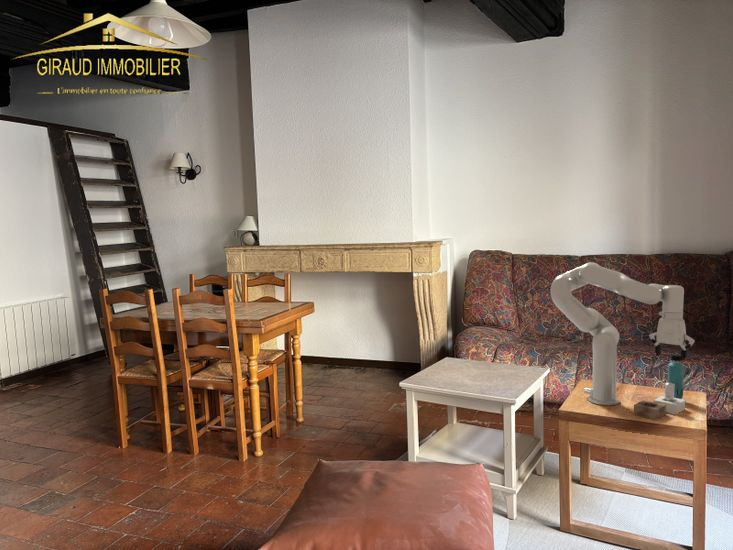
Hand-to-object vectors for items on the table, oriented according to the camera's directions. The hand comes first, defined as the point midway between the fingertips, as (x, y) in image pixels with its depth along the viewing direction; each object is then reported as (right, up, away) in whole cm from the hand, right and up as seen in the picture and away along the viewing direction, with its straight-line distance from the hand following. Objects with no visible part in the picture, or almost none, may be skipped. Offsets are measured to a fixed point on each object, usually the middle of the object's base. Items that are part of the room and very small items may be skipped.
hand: (670, 357), depth 250 cm
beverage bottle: (+9, -21, +14) cm, 26 cm away
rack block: (0, -22, +2) cm, 22 cm away
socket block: (-10, -22, -4) cm, 25 cm away
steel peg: (0, -22, +2) cm, 22 cm away
